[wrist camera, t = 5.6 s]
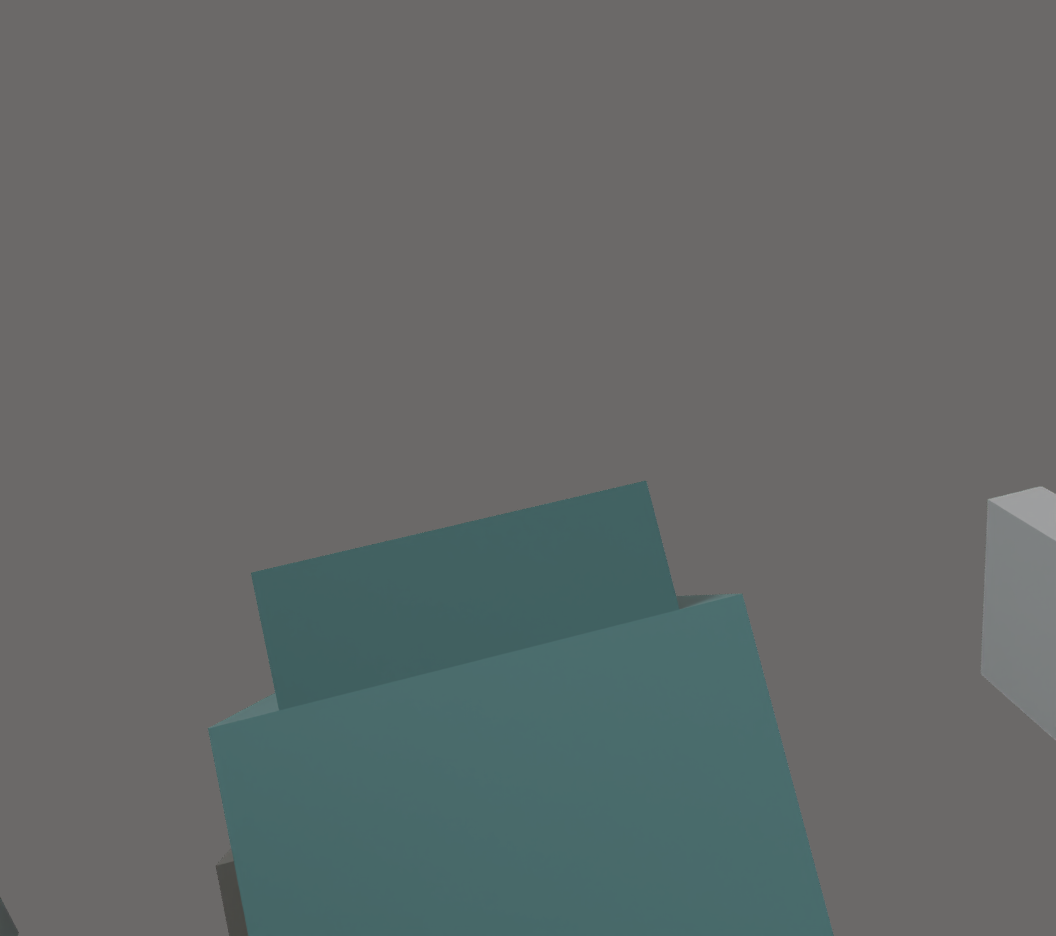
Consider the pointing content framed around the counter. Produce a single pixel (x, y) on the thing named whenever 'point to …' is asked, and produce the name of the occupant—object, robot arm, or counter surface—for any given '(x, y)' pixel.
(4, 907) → the robot arm
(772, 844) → the teal notched bar
